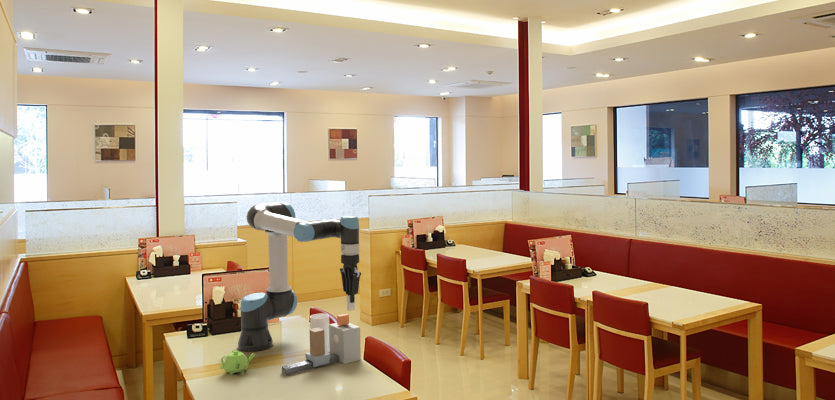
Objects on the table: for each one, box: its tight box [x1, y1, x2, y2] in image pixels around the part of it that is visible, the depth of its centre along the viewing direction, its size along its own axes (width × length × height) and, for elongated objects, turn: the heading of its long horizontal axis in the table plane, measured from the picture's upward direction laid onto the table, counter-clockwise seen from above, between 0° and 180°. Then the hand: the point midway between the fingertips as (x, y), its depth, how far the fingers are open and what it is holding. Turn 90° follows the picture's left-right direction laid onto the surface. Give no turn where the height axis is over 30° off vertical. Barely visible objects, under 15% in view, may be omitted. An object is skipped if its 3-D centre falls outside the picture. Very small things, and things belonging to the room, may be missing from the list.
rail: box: [281, 353, 340, 376], centre depth 236 cm, size 4×24×2 cm, turn 129°
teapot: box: [219, 350, 256, 376], centre depth 232 cm, size 11×12×8 cm
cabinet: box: [329, 322, 362, 365], centre depth 245 cm, size 12×8×14 cm
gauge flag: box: [336, 313, 350, 326], centre depth 245 cm, size 2×4×4 cm, turn 129°
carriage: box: [305, 328, 330, 367], centre depth 237 cm, size 8×7×14 cm
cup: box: [309, 312, 330, 354], centre depth 254 cm, size 8×8×16 cm
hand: (350, 309), depth 240 cm, fingers closed
